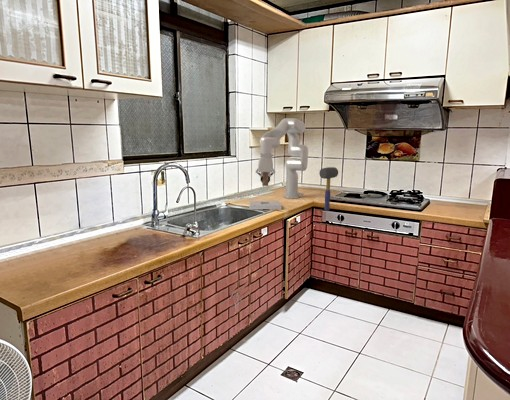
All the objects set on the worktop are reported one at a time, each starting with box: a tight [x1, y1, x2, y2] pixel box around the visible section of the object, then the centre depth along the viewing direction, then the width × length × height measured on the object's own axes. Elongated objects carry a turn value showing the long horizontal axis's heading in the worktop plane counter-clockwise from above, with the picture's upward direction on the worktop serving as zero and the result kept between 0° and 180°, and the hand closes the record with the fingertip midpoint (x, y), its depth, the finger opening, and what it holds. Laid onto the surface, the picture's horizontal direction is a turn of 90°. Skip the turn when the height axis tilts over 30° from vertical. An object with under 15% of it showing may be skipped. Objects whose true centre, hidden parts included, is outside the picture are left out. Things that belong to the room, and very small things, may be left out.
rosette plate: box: [248, 200, 282, 211], centre depth 255 cm, size 22×14×3 cm, turn 92°
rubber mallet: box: [318, 166, 339, 212], centre depth 244 cm, size 12×8×30 cm, turn 129°
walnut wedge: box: [261, 173, 269, 187], centre depth 251 cm, size 4×4×9 cm
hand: (265, 182), depth 252 cm, fingers closed on walnut wedge, 4 cm apart
